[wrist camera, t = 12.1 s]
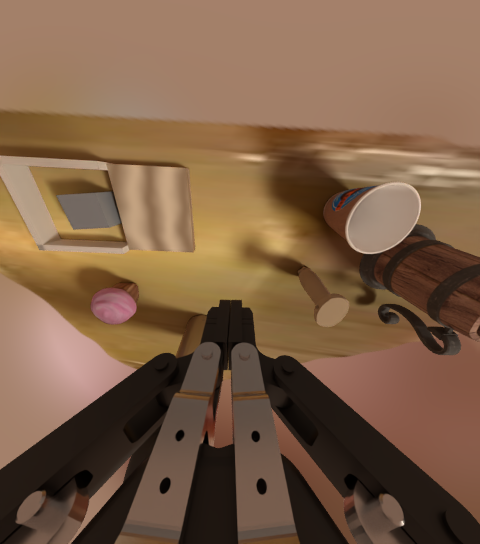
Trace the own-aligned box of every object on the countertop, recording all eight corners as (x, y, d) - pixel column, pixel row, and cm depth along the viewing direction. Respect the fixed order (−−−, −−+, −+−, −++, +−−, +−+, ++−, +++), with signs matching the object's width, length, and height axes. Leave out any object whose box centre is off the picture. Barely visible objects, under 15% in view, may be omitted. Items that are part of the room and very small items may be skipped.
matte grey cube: (113, 191, 34) (95, 192, 30) (124, 222, 37) (109, 227, 33) (79, 193, 34) (56, 195, 30) (93, 223, 37) (73, 229, 33)
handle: (289, 280, 44) (311, 324, 30) (299, 258, 41) (328, 295, 28) (307, 284, 44) (336, 328, 31) (318, 262, 41) (355, 300, 28)
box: (113, 163, 32) (97, 161, 28) (134, 247, 40) (123, 253, 36) (17, 158, 32) (-11, 155, 28) (57, 243, 39) (39, 250, 36)
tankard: (374, 223, 37) (497, 262, 19) (452, 224, 37) (645, 263, 19) (343, 308, 48) (403, 383, 30) (403, 309, 48) (498, 383, 30)
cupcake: (142, 274, 43) (117, 299, 34) (151, 302, 47) (131, 330, 38) (107, 275, 43) (73, 299, 34) (119, 303, 47) (91, 331, 38)
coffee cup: (360, 170, 32) (418, 164, 22) (370, 218, 37) (424, 234, 26) (307, 199, 35) (337, 207, 24) (323, 242, 39) (354, 264, 28)
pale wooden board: (188, 168, 32) (186, 167, 31) (195, 249, 40) (193, 252, 38) (113, 164, 32) (105, 163, 30) (133, 246, 39) (128, 249, 38)
